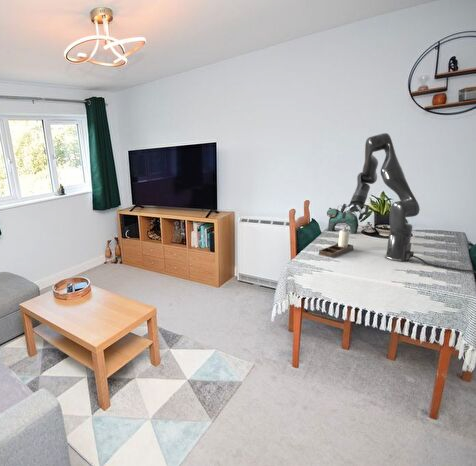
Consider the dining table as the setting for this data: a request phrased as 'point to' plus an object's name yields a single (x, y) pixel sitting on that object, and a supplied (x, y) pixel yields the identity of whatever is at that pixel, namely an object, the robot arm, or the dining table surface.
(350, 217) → the ceramic cat
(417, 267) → the dining table surface
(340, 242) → the dispenser
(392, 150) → the robot arm
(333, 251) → the tray
